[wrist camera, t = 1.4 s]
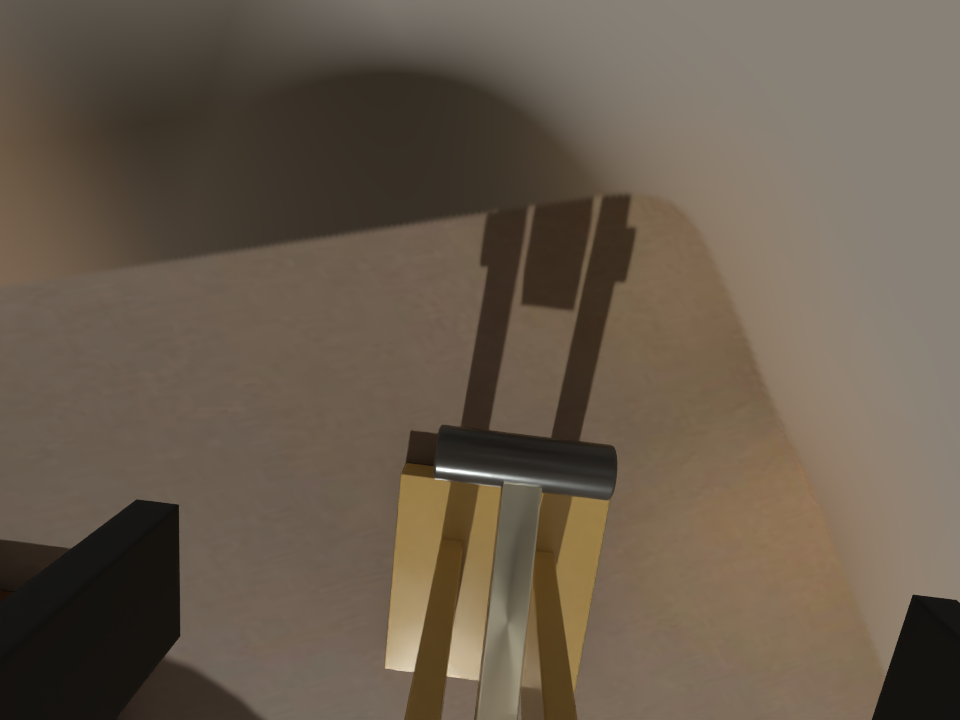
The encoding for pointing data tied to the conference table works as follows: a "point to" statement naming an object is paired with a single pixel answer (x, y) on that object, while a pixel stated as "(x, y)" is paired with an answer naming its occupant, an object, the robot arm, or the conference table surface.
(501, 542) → the switch lever
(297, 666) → the conference table surface
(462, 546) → the switch bracket
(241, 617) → the conference table surface
